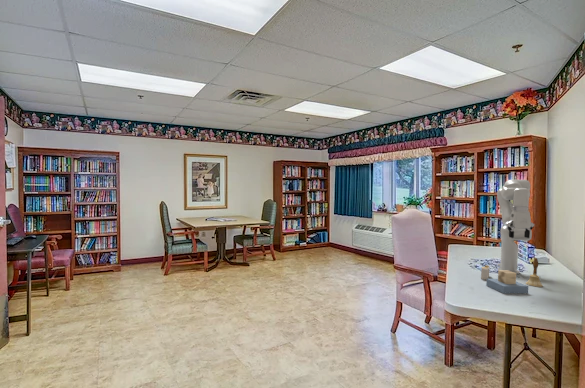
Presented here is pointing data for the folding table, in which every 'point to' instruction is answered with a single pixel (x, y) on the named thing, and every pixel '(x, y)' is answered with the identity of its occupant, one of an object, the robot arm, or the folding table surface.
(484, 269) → the model
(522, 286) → the slate base
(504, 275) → the oak cube
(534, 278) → the hand bell
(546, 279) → the folding table surface
